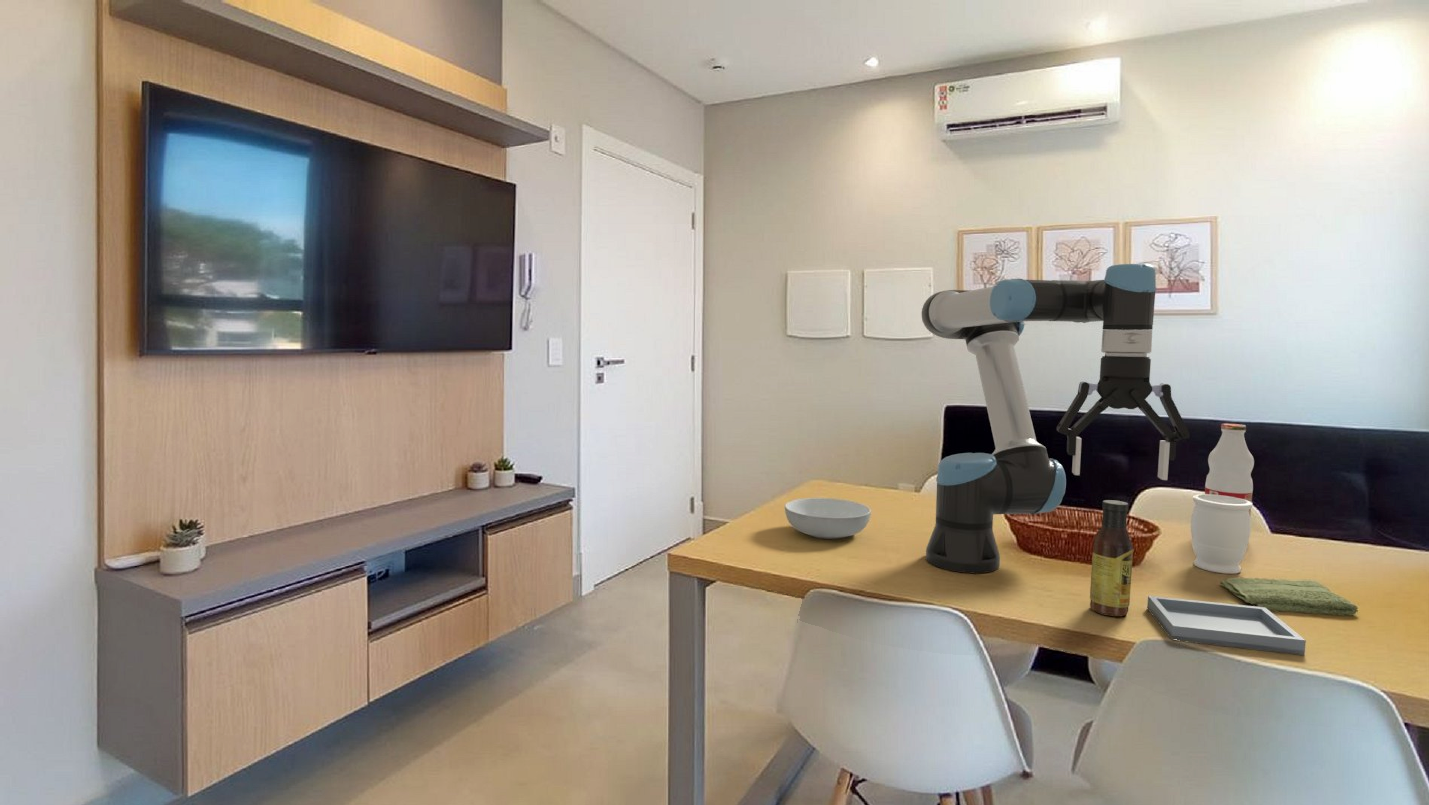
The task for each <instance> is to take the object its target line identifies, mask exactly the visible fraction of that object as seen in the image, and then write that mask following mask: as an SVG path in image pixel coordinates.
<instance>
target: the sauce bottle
mask: <svg viewBox="0 0 1429 805" xmlns="http://www.w3.org/2000/svg"><path fill="white" fill-rule="evenodd" d="M1101 509H1102V521H1101V525H1102V526H1101V527H1100V529H1099V530H1097V531H1096V534H1095V536H1094V538H1093V551H1092V556H1091V571H1090V572H1091V574H1090V575H1091V576H1090V589H1089V590H1090V591H1089V598H1090V599H1089V600H1090V602H1089V606H1090V608H1091V610H1092V611H1094V612H1096V613H1098V614H1100V615H1104V616H1105V615H1106V616H1108V617H1109V616H1110V617H1123V616H1126V615H1127V614H1128V613H1129V607H1130V603H1131V602H1130V600H1131V588H1132V587H1131V585H1132V573H1133V572H1132V571H1133V569H1132V568H1133V555H1134V554H1133V552H1134V546H1133V544H1132V541H1131V538H1130V534H1129V532H1128V527H1127V517H1128V512H1129V503H1128V502H1126V501H1123V500H1122V501H1120V500H1117V499H1115V500H1114V499H1113V500H1112V499H1105V500H1103V501H1102V505H1101Z"/></svg>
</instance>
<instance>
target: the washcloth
mask: <svg viewBox="0 0 1429 805" xmlns="http://www.w3.org/2000/svg"><path fill="white" fill-rule="evenodd" d="M1220 585H1222V586H1223V588H1225V589H1227V590H1228V589H1229V592H1231V593H1232V595H1234V596H1236V597H1237V598H1239V599H1241V600H1243V601H1244V602H1245V603H1247V604H1249V603H1250V604H1251V606H1255V607H1265V608H1267V609H1268V610H1269V611H1270V612H1271V611H1273V612H1285V611H1287V613H1301V614H1314V613H1315V614H1316V613H1317V614H1318V615H1333V616H1334V615H1335V616H1346V617H1347V616H1348V617H1350V616H1353V615H1356V613H1358V611H1359V610H1358V609H1359V608H1358V606H1357V605H1356V604H1355V603H1352V602H1351V601H1350V600H1348V599H1346V598H1344V597H1342V596H1341V595H1339V594H1336V593H1335V592H1332V591H1331V590H1330V589H1329V588H1328V587H1326V586H1324V585H1323V584H1322V583H1320V582H1318V581H1316V580H1312V579H1302V580H1301V579H1300V580H1299V579H1298V580H1295V579H1294V580H1292V579H1291V580H1290V579H1282V578H1279V579H1278V578H1277V579H1275V578H1258V577H1255V578H1254V577H1247V578H1246V577H1230V578H1227V579H1223V580H1220Z"/></svg>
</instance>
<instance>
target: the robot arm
mask: <svg viewBox="0 0 1429 805" xmlns="http://www.w3.org/2000/svg"><path fill="white" fill-rule="evenodd" d="M1156 276H1157V275H1156V268H1155V267H1154V266H1153V265H1151V264H1149V263H1125V264H1114V265H1110V266H1108V267H1107V268H1106V271H1105V276H1104V279H1097V280H1096V279H1095V280H1071V279H1070V280H1068V279H1067V280H1066V279H1062V280H1059V279H1055V280H1054V279H1051V280H1045V279H1043V280H1042V279H1023V278H1011V279H1002V280H1000V281H998V282H997V283H996V285H993V286H989V287H983V288H978V289H973V290H972V289H971V290H966V289H960V290H959V289H948V290H941V291H939V292H935V293H933V294H932V295H929V297H928V298H927V299H926V300H925V301H924V303H923V305H922V308H921V320H922V323H923V325H924V327H925V328H926V330H928V331H929V332H930V333H931V334H933V335H934V336H936V337H938V338H943V339H947V340H948V339H949V340H964V341H965V344H966V348H967V351H968V352H969V353H971V354H973V355H975V359H976V363H977V367H978V368H977V369H978V372H979V377H980V381H981V387H982V392H983V396H984V400H985V405H986V409H987V414H988V420H989V423H990V424H989V425H990V427H991V433H992V438H993V442H994V448H995V449H994V451H993V452H992V453H985V452H974V453H973V452H963V453H956V454H955V453H954V454H951V455H949V456H948V455H947V456H945V457H944V458H943V459H940V461H939V463H938V465H937V466H938V468H937V474H936V503H935V525H934V527H933V530H932V533H931V535H930V538H929V540H928V543H927V546H926V549H925V560H926V561H927V562H928V563H929V564H931V565H933V566H935V567H937V568H940V569H943V570H948V571H951V572H952V571H953V572H960V573H966V574H968V573H970V574H982V573H990V572H994V571H996V570H998V569H999V568H1000V566H1001V565H1000V562H1001V555H1000V552H999V548H998V545H997V541H996V537H995V535H994V531H993V530H994V529H993V526H994V524H993V523H994V515H1023V514H1024V515H1027V514H1029V515H1037V514H1043V513H1050V512H1053V511H1055V510H1056V509H1057V508H1058V507H1059V506H1060V505H1061V503H1062V501H1063V497H1064V496H1065V493H1066V488H1067V487H1066V486H1067V478H1066V477H1067V476H1066V472H1065V469H1064V467H1063V465H1062V464H1061V463H1060V462H1059V461H1058V460H1057V459H1054V458H1049V455H1048V451H1047V448H1046V446H1044V445H1043V444H1041V443H1039V442H1038V441H1037V437H1036V433H1035V429H1034V425H1033V421H1032V418H1031V412H1030V408H1029V403H1028V400H1027V395H1026V392H1025V387H1024V383H1023V379H1022V374H1021V369H1020V365H1019V362H1018V358H1017V354H1016V350H1015V346H1016V345H1017V344H1018V342H1019V341H1020V336H1021V334H1022V333H1023V331H1024V328H1025V325H1026V324H1025V323H1024V322H1070V323H1071V322H1073V323H1084V324H1085V323H1091V322H1092V323H1093V322H1102V336H1101V337H1102V338H1101V350H1100V351H1101V353H1103V354H1104V355H1102V356H1101V358H1100V365H1099V366H1100V367H1099V368H1100V369H1099V370H1100V371H1099V380H1098V382H1097V383H1090V382H1087V381H1080V382H1079V384H1078V389H1077V394H1076V395H1075V397H1074V399H1073V400H1072V402H1071V404H1070V406H1069V407H1068V408H1067V410H1066V412H1065V413H1064V415H1063V417H1062V418H1061V420H1060V421H1059V423H1058V425H1057V426H1056V431H1057V432H1058V433H1060V434H1062V435H1064V436H1066V437H1067V440H1066V453H1067V455H1069V456H1072V465H1071V466H1072V467H1071V473H1072V474H1073V475H1074V476H1081V475H1080V474H1081V456H1082V455H1081V454H1082V440H1083V439H1082V438H1081V437H1080V436H1079V435H1080V434H1081V433H1082V432H1083V431H1084V430H1085V429H1087V427H1088V426H1089V425H1090V424H1091V423H1092V422H1093V421H1094V420H1095V419H1097V417H1099V415H1101V414H1102V413H1103V412H1104V411H1105V410H1106V409H1108V407H1109V408H1112V409H1115V410H1118V409H1128V410H1135V409H1137V408H1138V409H1139V410H1140V411H1141V413H1143V414H1144V415H1145V417H1146V418H1147V419H1148V420H1149V421H1150V422H1151V424H1152V425H1153V426H1154V427H1155V428H1156V430H1158V432H1159V433H1160V434H1161V436H1163V438H1164V439H1165V440H1161V439H1160V440H1159V450H1158V452H1159V453H1158V465H1157V467H1158V468H1157V478H1158V479H1160V480H1162V481H1168V475H1169V462H1170V461H1175V459H1176V454H1177V452H1176V451H1177V443H1178V442H1179V441H1182V440H1186V439H1189V438H1190V436H1191V434H1190V431H1189V430H1188V428H1187V426H1186V423H1185V421H1184V420H1183V418H1182V416H1181V413H1180V412H1179V410H1178V407H1177V405H1176V404H1175V401H1174V400H1173V398H1172V397H1173V396H1172V387H1171V385H1170V384H1168V383H1165V382H1164V383H1162V382H1161V383H1159V384H1154V385H1153V384H1152V385H1151V382H1150V380H1151V379H1150V378H1151V362H1152V359H1151V358H1150V356H1148V354H1150V353H1152V346H1153V345H1152V344H1153V343H1152V341H1153V330H1154V329H1153V327H1154V315H1155V302H1156V291H1157V282H1156V280H1157V279H1156ZM1095 391H1096V392H1097V394H1098V395H1099V396H1100V398H1099V399H1098V400H1097V401H1095V403H1094V405H1093V406H1092V407H1090V409H1088V410H1087V411H1086V413H1085V414H1083V416H1082V417H1081V418H1079V419H1078V420H1077V421H1076V422H1075V423H1074V424H1073V426H1071V425H1072V423H1073V422H1074V419H1075V417H1076V416H1077V415H1078V413H1079V412H1080V410H1081V408H1082V406H1083V404H1085V401H1086V400H1087V398H1088V396H1091V395H1092V394H1093V393H1094V392H1095ZM1152 393H1154V395H1155V397H1158V398H1159V401H1160V402H1161V405H1162V407H1163V408H1164V411H1165V413H1166V415H1167V417H1168V419H1169V420H1170V423H1171V425H1172V427H1173V428H1174V431H1175V432H1173V431H1172V429H1171V428H1170V427H1169V425H1167V423H1166V422H1165V421H1164V420H1163V419H1162V417H1160V416H1159V414H1158V413H1157V412H1156V410H1154V409H1153V407H1152V405H1151V404H1150V403H1149V402H1148V401H1147V400H1146V399H1147V398H1148V397H1149V396H1150V395H1151V394H1152ZM1070 426H1071V427H1070Z"/></svg>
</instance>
